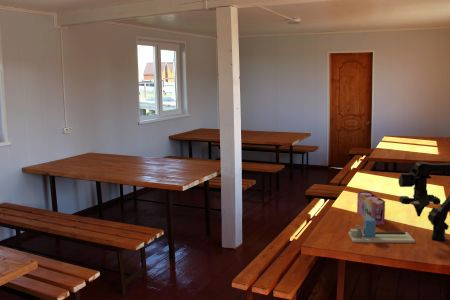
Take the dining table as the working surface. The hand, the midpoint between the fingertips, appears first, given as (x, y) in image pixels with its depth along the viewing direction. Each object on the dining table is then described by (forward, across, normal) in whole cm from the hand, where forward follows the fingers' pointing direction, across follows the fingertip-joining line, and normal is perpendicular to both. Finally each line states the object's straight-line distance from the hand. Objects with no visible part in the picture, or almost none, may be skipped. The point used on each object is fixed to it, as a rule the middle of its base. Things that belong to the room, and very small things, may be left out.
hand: (418, 216), depth 237 cm
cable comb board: (+12, -18, 0) cm, 22 cm away
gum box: (+12, -16, +33) cm, 38 cm away
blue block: (+10, -24, 0) cm, 27 cm away
